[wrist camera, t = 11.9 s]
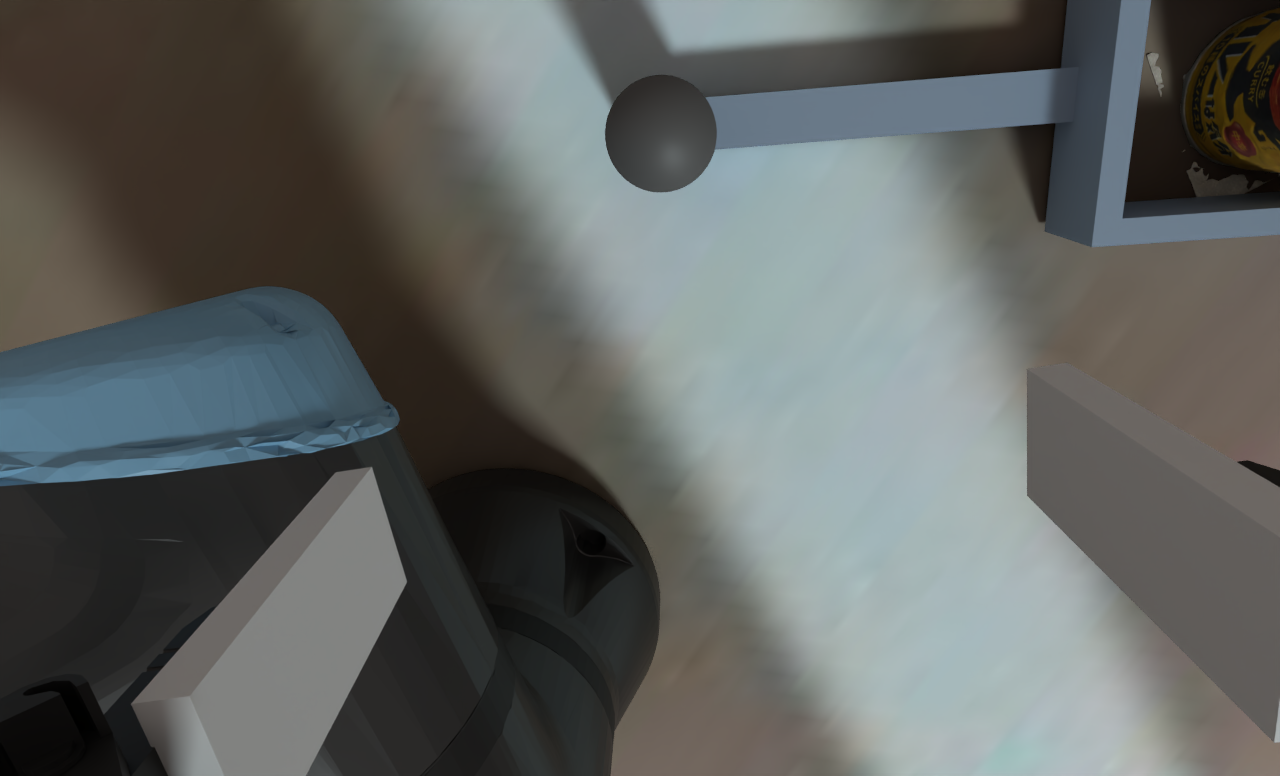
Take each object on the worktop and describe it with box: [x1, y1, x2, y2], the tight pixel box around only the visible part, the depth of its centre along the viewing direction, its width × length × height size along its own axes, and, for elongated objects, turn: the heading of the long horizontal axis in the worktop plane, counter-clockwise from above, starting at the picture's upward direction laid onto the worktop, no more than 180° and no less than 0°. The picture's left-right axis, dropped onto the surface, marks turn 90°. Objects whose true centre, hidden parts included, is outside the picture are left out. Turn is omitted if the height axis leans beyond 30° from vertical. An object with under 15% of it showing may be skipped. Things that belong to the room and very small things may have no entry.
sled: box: [605, 0, 1280, 247], centre depth 27 cm, size 30×11×11 cm, turn 94°
